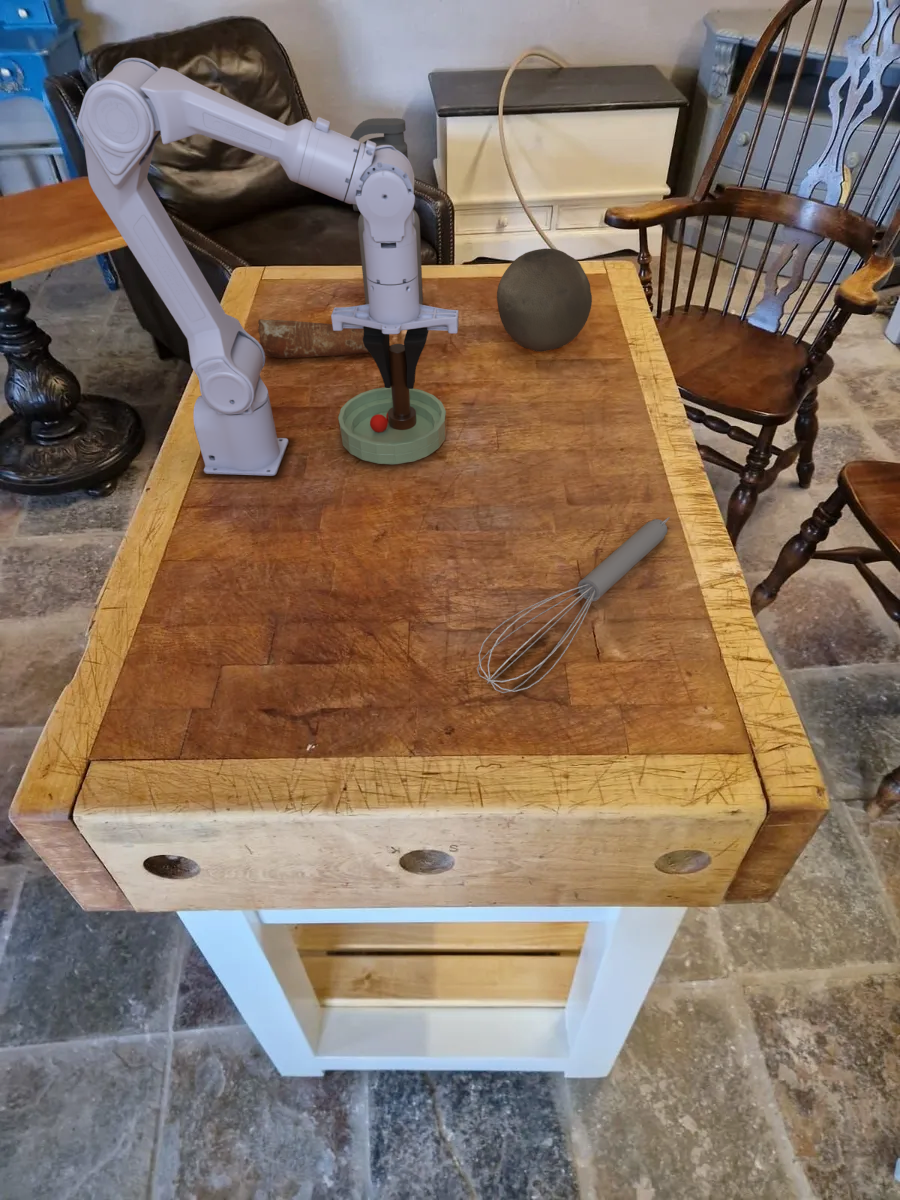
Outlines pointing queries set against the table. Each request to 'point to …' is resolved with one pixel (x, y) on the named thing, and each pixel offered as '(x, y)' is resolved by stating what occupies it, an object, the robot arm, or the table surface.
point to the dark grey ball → (544, 299)
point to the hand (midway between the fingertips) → (399, 384)
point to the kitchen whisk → (589, 589)
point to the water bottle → (395, 137)
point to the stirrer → (400, 391)
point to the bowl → (391, 442)
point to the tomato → (378, 423)
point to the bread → (308, 339)
